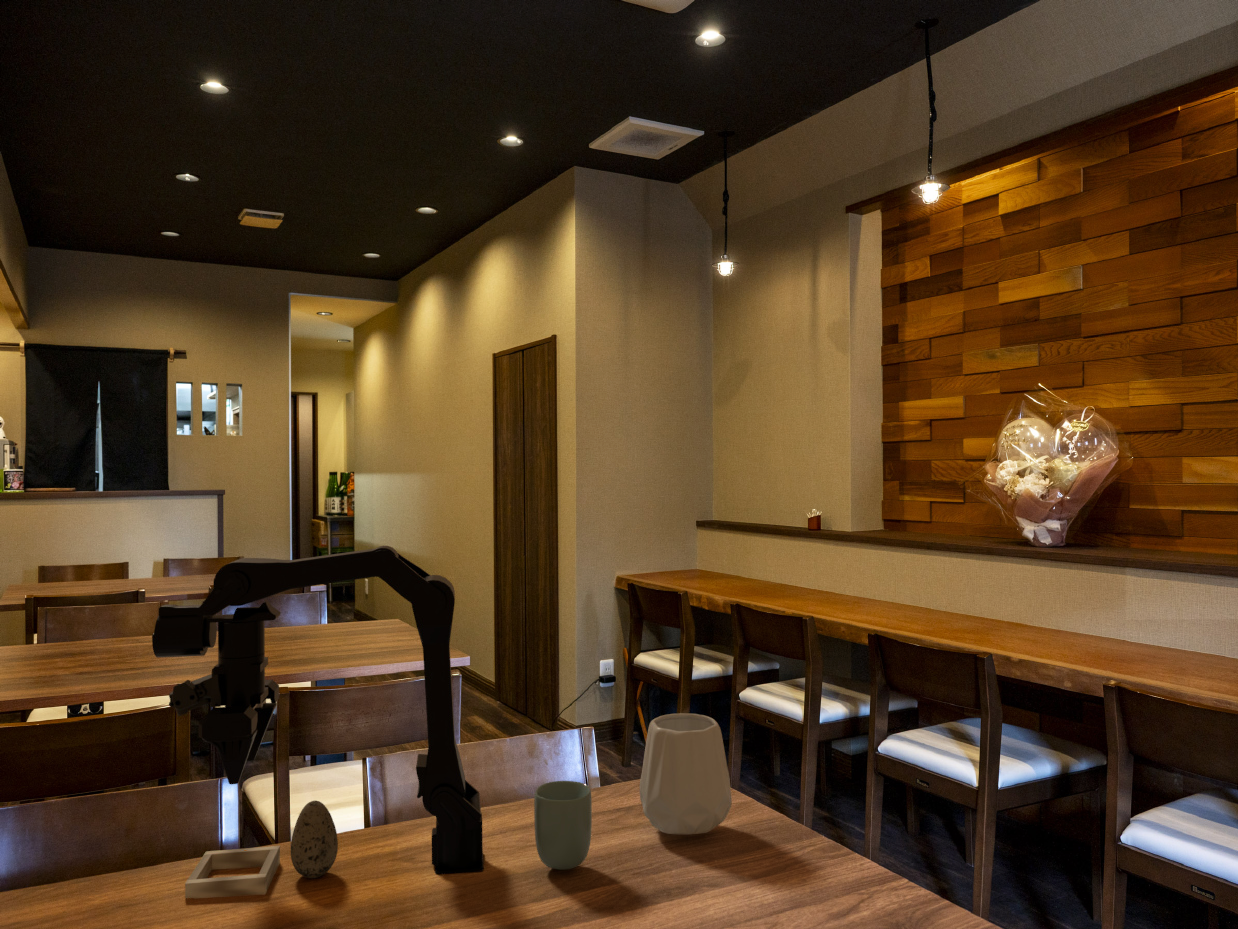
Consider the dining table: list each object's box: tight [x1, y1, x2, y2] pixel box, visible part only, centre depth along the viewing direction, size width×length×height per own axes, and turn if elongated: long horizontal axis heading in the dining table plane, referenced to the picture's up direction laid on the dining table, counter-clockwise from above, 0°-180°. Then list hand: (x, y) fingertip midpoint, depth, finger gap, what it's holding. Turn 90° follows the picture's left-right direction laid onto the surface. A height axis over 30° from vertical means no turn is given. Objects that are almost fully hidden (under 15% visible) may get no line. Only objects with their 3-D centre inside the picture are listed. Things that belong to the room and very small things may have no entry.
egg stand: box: [184, 845, 281, 899], centre depth 118 cm, size 10×10×2 cm
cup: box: [533, 780, 593, 871], centre depth 123 cm, size 8×8×10 cm
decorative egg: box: [290, 800, 339, 879], centre depth 119 cm, size 6×6×10 cm
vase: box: [639, 712, 733, 835], centre depth 137 cm, size 14×14×15 cm
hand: (242, 771), depth 119 cm, fingers open, 9 cm apart
